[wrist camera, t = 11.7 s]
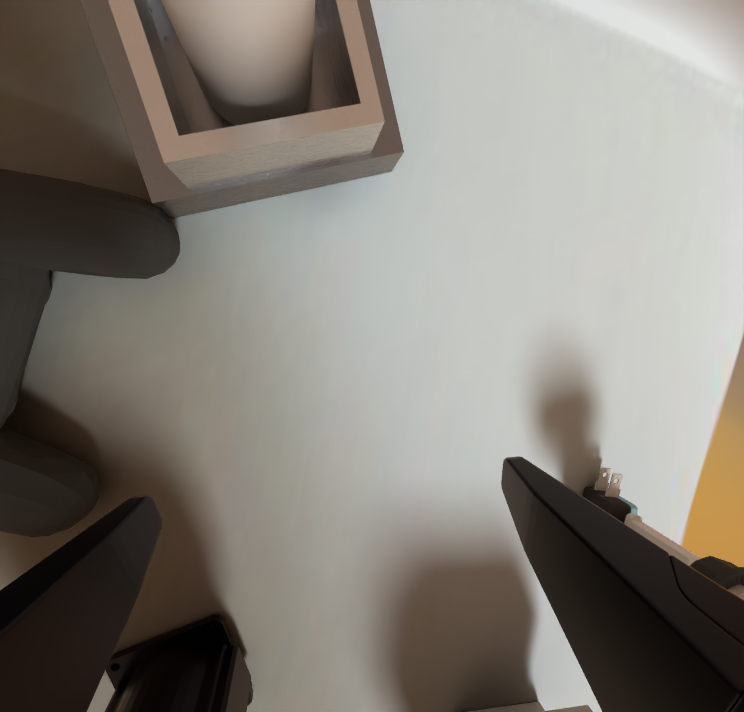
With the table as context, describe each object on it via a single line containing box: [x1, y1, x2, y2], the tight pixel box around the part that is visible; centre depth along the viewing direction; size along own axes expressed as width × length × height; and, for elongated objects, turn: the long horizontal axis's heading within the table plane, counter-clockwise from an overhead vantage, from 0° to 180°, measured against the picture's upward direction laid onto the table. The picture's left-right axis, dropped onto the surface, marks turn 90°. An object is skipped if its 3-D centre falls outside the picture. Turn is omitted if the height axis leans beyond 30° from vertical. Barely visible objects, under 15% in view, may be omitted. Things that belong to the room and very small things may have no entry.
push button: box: [583, 468, 744, 600], centre depth 21 cm, size 7×5×10 cm
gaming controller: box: [0, 169, 180, 537], centre depth 15 cm, size 17×6×10 cm
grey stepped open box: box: [80, 0, 404, 218], centre depth 15 cm, size 12×9×6 cm
